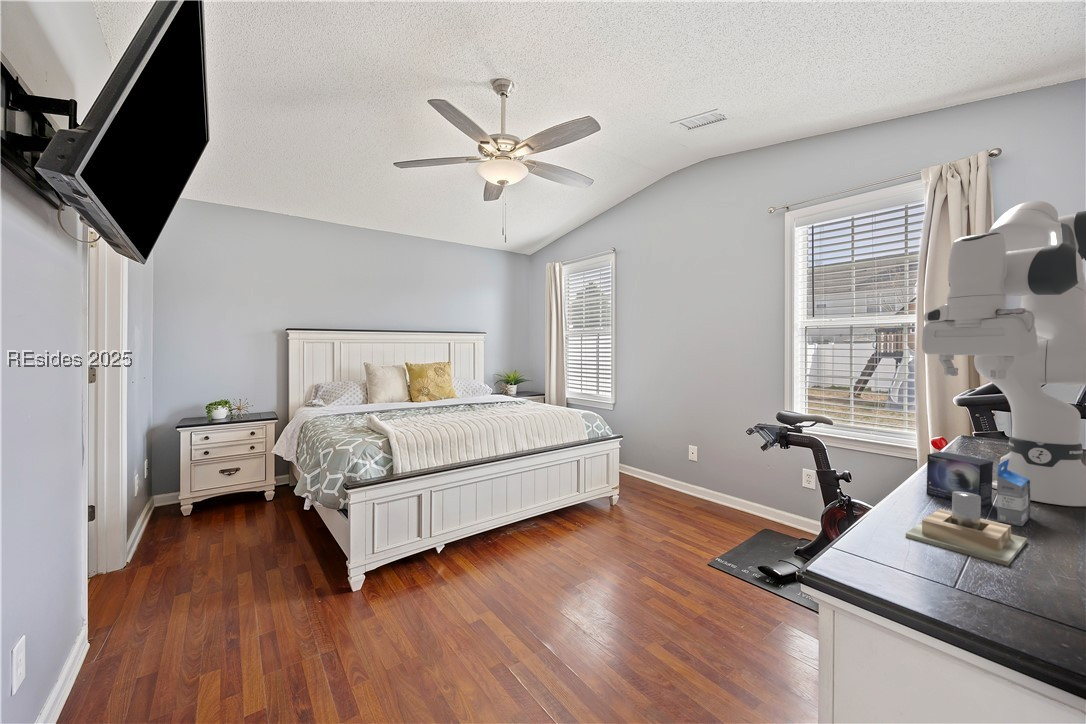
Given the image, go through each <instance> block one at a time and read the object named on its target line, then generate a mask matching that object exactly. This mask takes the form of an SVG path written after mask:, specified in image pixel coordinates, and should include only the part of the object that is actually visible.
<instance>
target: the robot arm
mask: <svg viewBox="0 0 1086 724" xmlns="http://www.w3.org/2000/svg"><path fill="white" fill-rule="evenodd" d="M1083 260H1085V262H1086V210H1084V211H1077V212H1076V213H1072V214H1066V215H1062V216H1059V213H1058V211H1057V209H1056V207H1055V206H1054V205H1052V204H1051V203H1049V202H1046V201H1043V200H1042V201H1041V200H1030V201H1026V202H1023V203H1020V204H1017V205H1015V206H1014V207H1011V208H1010V209H1008V210H1007V211H1006V212H1004V213H1003V214H1001V216H1000V217H999V218H998V219H997V220H996V221H995V222H994V223H993V224H992V226H991V227H990V229H989V230H988V232H986V233H980V234H974V235H968V236H961V237H959V238H957V239H955V240H954V241H953V243H952V245H951V249H950V253H949V259H948V267H947V281H948V286H949V292H948V294H947V297H946V304H943V305H940V306H939V307H936V308H934V309H932V310H929V311H926V312H925V313H924V314H923V321H924V322H925V323H926V324H925V325H924V327H923V329H922V339H921V347H922V348H921V349H922V352H923V353H924V354H925V355H936V356H937V355H938V360H939V362H940V364H941V365H942V367H943V368H944V370H943V374H944V376H948V377H956V376H958V375H959V373H958V372H959V367H955V365H954V363H953V360H955V358H954V357H955V356H974V357H973V365H974V368H975V370H976V372H977V373H978V374H979V375H980V376H981V377H982V378H983V379H985V380H987V381H989V382H990V383H991V384H993V385H994V386H996V387H997V389H999V390H1000V391H1001V392H1002V394H1003V395H1004V396H1005V397H1006V399H1007V401H1008V402H1007V403H1008V404H1009V406H1010V412H1011V427H1012V428H1011V431H1012V432H1011V436H1009V440H1008V450H1009V452H1008V453H1007V454H1005V455H1003V456H1000V458H999V459H1000V460H999V464H1000V463H1002V462H1003V461H1005V460H1007V459H1010V460H1009V462H1008V467H1007V469H1008V470H1010V471H1012V472H1014V473H1016V474H1018V475H1020V476H1022V477H1025V478H1027V479H1029V480H1030V501H1035V502H1039V503H1045V504H1049V505H1051V504H1052V505H1058V506H1067V507H1086V465H1085V464H1084V463H1083V462H1082V460H1081V459H1083V453H1084V449H1083V444H1082V443H1080V442H1081V422H1082V421H1081V419H1082V418H1081V417H1082V416H1081V413H1080V411H1079V410H1078V409H1077V407H1075V406H1074V405H1072V404H1071V403H1068V402H1066V401H1064V400H1061V399H1058V398H1056V397H1053V396H1050V395H1049V394H1047V393H1046V392H1044V391H1043V389H1042V386H1044V385H1059V386H1060V385H1063V386H1064V385H1065V386H1085V387H1086V278H1085V277H1086V276H1085V273H1084V263H1083ZM1019 296H1021V299H1020V307H1017V308H1007V297H1010V298H1011V297H1019ZM1038 337H1041V338H1044V339H1038ZM1003 468H1004V467H1002V468H1001V470H1002V469H1003ZM992 489H996V490H997V480H995V481H992Z"/></svg>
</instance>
